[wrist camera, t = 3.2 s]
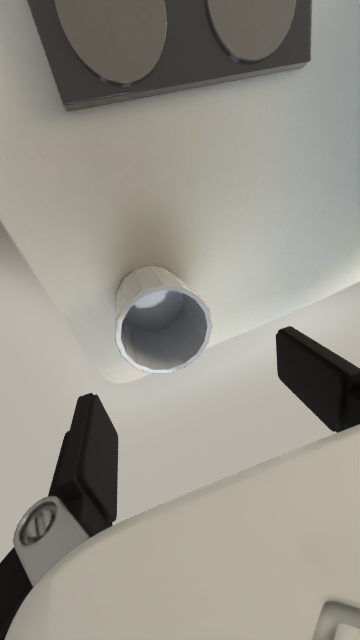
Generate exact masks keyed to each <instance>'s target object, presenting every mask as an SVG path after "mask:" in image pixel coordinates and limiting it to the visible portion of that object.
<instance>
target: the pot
mask: <svg viewBox="0 0 360 640" xmlns="http://www.w3.org/2000/svg"><path fill="white" fill-rule="evenodd" d="M211 330H212V322H211V317H210V312H209V309H208V307H207V306H206V305H205V303H204V302H203V300H202V299H201V298H200V296H199V295H198V294H197V293H195V292H194V291H193V290H192V289H191V288H190V287H189V286H188V285H186V284H185V283H184V282H183V281H182V280H181V279H180V278H179V277H177V276H176V275H175V274H173V273H172V272H170V271H169V270H167V269H165V268H161V267H157V266H146V267H142V268H139V269H137V270H135V271H133V272H131V273H130V274H129V275H128V276H127V277H126V278H125V279H124V280H123V281H122V283H121V285H120V287H119V289H118V291H117V301H116V326H115V341H116V343H117V346H118V348H119V351H120V353H121V355H122V357H123V358H124V359H126V360H127V361H128V362H129V363H130V364H131V365H132V366H133V367H134V368H137V369H139V370H142V371H145V372H148V373H151V374H161V373H171V372H174V371H177V370H180V369H182V368H185V367H187V366H188V365H189V364H191V363H192V362H193V361H194V360H196V359H197V358H198V357H199V356H200V355H201V353H202V352H203V350H204V349H205V347H206V346H207V344H208V342H209V338H210V334H211Z"/></svg>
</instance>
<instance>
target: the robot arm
mask: <svg viewBox="0 0 360 640" xmlns="http://www.w3.org/2000/svg"><path fill="white" fill-rule="evenodd" d="M276 347H277V348H276V350H277V370H278V376H279V378H280V380H281V381H282V382H283V383H284V384H285V385H286V386H287V387H288V388H289V389H290V390H291V391H292V392H293V393H294V394H295V395H296V396H297V397H298V398H299V399H300V400H301V401H302V402H303V403H304V404H305V405H306V406H307V407H308V408H309V409H310V410H311V411H312V412H313V413H314V414H315V415H316V416H318V418H319V419H320V420H321V421H322V422H323V423H324V424H325V425H326V426H327V427H328V428H329V429H330V430H332V431H336V432H337V433H336V434H333V435H331V436H328V437H326V438H324V439H321V440H318V441H316V442H313V443H311V444H308V445H306V446H303V447H301V448H298V449H296V450H293V451H291V452H288V453H286V454H283V455H281V456H278V457H276V458H273V459H271V460H268V461H266V462H263V463H261V464H258V465H256V466H254V467H251V468H249V469H246V470H244V471H241V472H239V473H236V474H234V475H231V476H229V477H227V478H224V479H222V480H219V481H217V482H214V483H212V484H210V485H207V486H205V487H202V488H200V489H197V490H195V491H192V492H190V493H188V494H185V495H183V496H180V497H178V498H175V499H173V500H171V501H168V502H166V503H164V504H161V505H159V506H156V507H154V508H152V509H149V510H147V511H145V512H142V513H140V514H138V515H136V516H133V517H131V518H129V519H126V520H124V521H122V522H120V523H118V524H116V525H114V526H112V522H113V521H115V520H116V517H117V471H118V435H117V432H116V430H115V428H114V426H113V424H112V422H111V420H110V418H109V416H108V414H107V413H106V411H105V409H104V407H103V405H102V403H101V401H100V399H99V397H98V395H93V394H92V393H90V394H86V395H84V396H80V397H79V398H78V400H77V404H76V409H75V412H74V416H73V420H72V424H71V428H70V431H68V432H67V433H66V434H65V436H64V440H63V443H62V447H61V451H60V455H59V458H58V462H57V465H56V469H55V473H54V476H53V480H52V484H51V487H50V491H49V495H48V497H45V498H43V499H41V500H39V501H38V502H36V503H35V504H34V505H33V506H32V507H31V508H29V510H28V511H27V512H26V513H25V514H24V515H23V517H22V519H21V520H20V522H19V524H18V525H17V528H16V531H15V533H14V539H13V543H14V548H13V549H12V550H11V551H10V552H9V553H8V555H7V556H6V557H5V558H4V559H3V560H2V562H1V563H0V640H360V368H358V367H356V366H355V365H353V364H352V363H350V362H348V361H347V360H345V359H343V358H342V357H340V356H339V355H337V354H335V353H334V352H332V351H330V350H329V349H327V348H325V347H324V346H322V345H320V344H319V343H317V342H316V341H314V340H312V339H311V338H309V337H308V336H306V335H304V334H303V333H301V332H299V331H298V330H296V329H294V328H293V327H291V326H289V327H286V328H283V329H280V330H279V331H278V333H277V334H276Z"/></svg>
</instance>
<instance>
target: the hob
mask: <svg viewBox="0 0 360 640" xmlns="http://www.w3.org/2000/svg"><path fill="white" fill-rule="evenodd" d="M27 1H28V4H29V7H30V10H31V13H32V16H33V19H34V21H35V24H36V27H37V30H38V33H39V36H40V39H41V42H42V45H43V47H44V50H45V53H46V56H47V59H48V62H49V65H50V68H51V71H52V73H53V76H54V79H55V82H56V85H57V88H58V91H59V94H60V97H61V99H62V102H63V105H64V107H65V109H66V111H72V110H77V109H82V108H88V107H93V106H99V105H104V104H109V103H115V102H120V101H126V100H131V99H136V98H142V97H147V96H153V95H158V94H163V93H169V92H174V91H180V90H185V89H191V88H196V87H201V86H207V85H212V84H218V83H223V82H228V81H234V80H239V79H245V78H250V77H255V76H261V75H266V74H272V73H277V72H282V71H288V70H293V69H299V68H303V67H304V66H305V65H306V64H307V63H308V62H310V60H311V15H312V0H27Z"/></svg>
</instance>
